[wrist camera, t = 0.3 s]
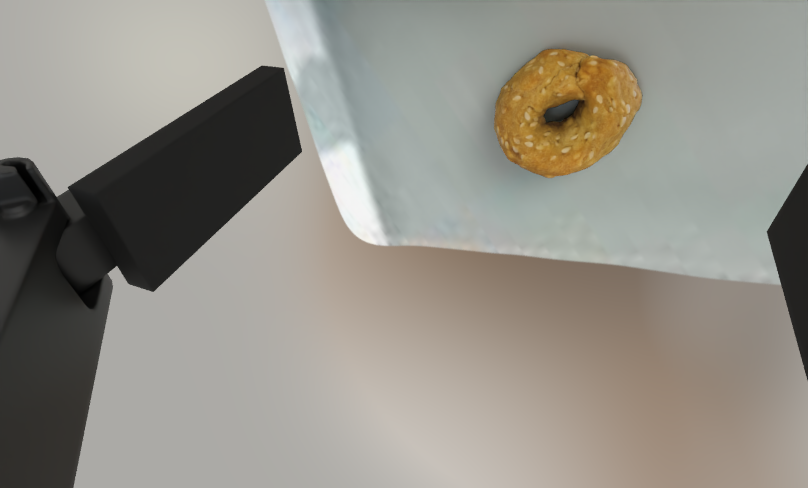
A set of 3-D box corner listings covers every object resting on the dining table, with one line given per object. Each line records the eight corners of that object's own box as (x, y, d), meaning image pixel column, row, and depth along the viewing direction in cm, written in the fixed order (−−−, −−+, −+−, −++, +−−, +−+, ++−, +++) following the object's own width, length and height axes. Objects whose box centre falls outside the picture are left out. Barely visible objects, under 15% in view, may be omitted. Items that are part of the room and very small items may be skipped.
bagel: (653, 144, 37) (650, 172, 34) (521, 170, 43) (507, 196, 40) (628, 17, 33) (622, 35, 29) (486, 67, 39) (467, 87, 36)
